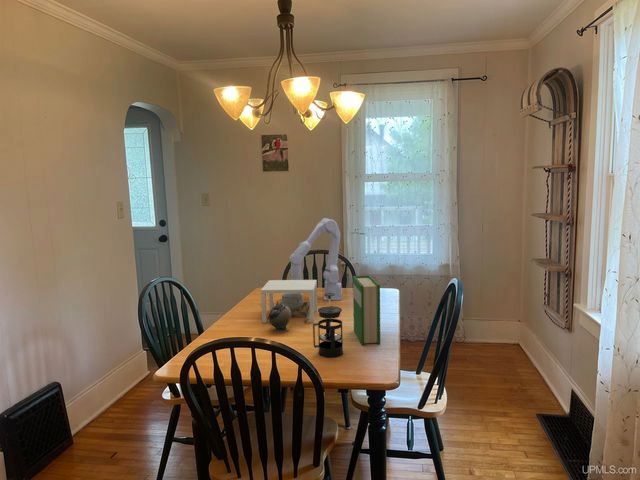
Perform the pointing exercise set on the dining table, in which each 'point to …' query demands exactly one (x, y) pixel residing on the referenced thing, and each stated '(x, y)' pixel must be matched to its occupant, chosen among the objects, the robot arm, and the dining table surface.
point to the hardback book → (366, 309)
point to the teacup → (293, 301)
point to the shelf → (290, 287)
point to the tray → (301, 313)
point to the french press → (329, 331)
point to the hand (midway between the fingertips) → (297, 300)
